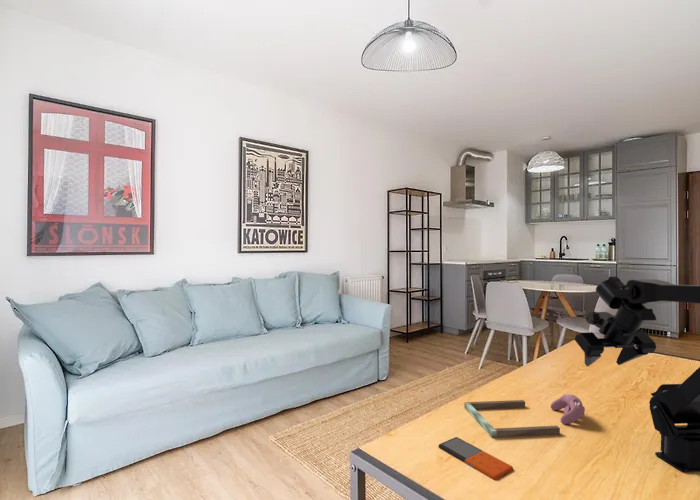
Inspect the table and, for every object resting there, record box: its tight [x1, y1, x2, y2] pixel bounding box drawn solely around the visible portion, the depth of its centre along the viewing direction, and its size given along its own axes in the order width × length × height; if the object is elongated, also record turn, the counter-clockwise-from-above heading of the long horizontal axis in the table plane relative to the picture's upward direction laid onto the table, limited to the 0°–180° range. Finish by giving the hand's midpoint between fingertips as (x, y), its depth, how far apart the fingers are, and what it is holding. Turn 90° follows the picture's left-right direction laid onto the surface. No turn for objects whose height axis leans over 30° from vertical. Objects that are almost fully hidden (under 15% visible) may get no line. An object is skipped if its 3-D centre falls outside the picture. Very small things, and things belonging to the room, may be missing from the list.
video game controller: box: [550, 392, 586, 425], centre depth 103 cm, size 10×5×7 cm, turn 169°
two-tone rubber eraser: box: [438, 436, 514, 481], centre depth 84 cm, size 6×1×15 cm
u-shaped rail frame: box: [463, 399, 561, 438], centre depth 101 cm, size 16×17×2 cm
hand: (602, 364), depth 105 cm, fingers open, 9 cm apart
